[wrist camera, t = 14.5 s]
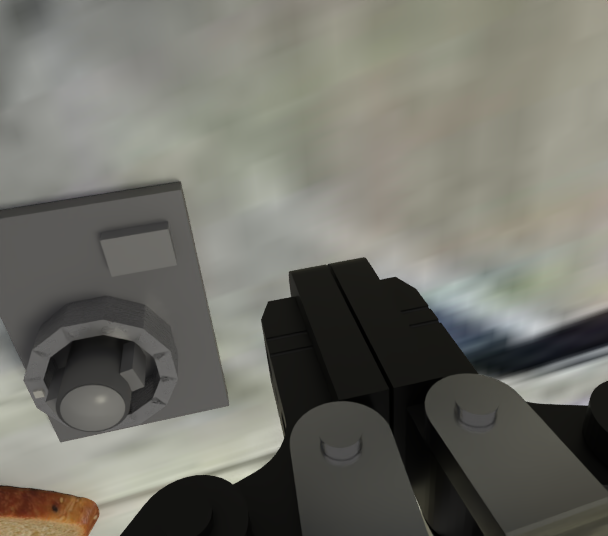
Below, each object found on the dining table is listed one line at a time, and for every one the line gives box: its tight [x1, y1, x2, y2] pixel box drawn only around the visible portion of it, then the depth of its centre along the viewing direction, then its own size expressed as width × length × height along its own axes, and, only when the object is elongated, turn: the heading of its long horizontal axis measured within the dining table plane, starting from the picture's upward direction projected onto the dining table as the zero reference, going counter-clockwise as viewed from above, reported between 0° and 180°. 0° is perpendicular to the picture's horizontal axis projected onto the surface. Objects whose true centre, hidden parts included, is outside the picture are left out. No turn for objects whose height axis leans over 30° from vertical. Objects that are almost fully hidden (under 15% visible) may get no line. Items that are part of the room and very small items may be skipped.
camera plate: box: [0, 182, 229, 442], centre depth 40 cm, size 14×20×3 cm
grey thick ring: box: [24, 296, 178, 432], centre depth 39 cm, size 10×10×3 cm
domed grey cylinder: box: [46, 335, 146, 432], centre depth 38 cm, size 6×5×6 cm
